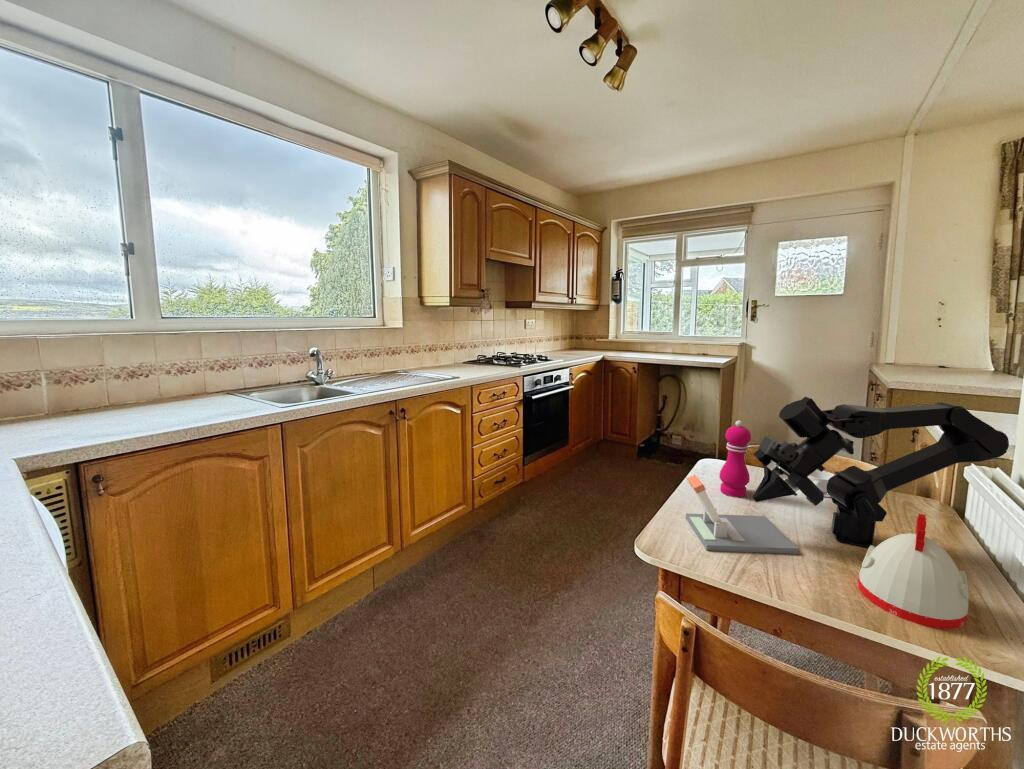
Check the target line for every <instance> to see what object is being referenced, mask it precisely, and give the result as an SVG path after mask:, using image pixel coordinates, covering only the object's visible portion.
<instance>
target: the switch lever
mask: <svg viewBox="0 0 1024 769" xmlns="http://www.w3.org/2000/svg"><path fill="white" fill-rule="evenodd" d="M686 481H687V483H688V484H689V485H690V487H691V488H692V489H693V491H694V492H695V494H696V496H697V498H698V500H699V502H700V504H701V505H702V508H703V510H704V509H705V511H706V513H707V515H708V516H709V517H710V519H711V520H712V521H713V523H714V524H715V522H722V521H721V519H720V517H719V516H718V515H719V514H718V512H717V509H716V508H715V507H714V505H713V503H712V501H711V499H710V498H709V496H708V494H707V491H706V487H705V485H704V483H703V482H702V481H701V480H700V479H699V478H698V476H697V475H696V474H693V475H691V476H690V477H686ZM715 509H716V510H715Z"/></svg>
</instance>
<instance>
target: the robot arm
mask: <svg viewBox="0 0 1024 769" xmlns="http://www.w3.org/2000/svg"><path fill="white" fill-rule="evenodd" d="M778 417H779V418H780V419H781V421H783V423H784V424H786V426H787V427H788V428H789V429H790V430H791V431H792V432H793V433H794V434H795V435H796V436H797V437H799V438H805V439H803V440H802V441H801V442H800V443H799V444H798V443H796V442H791V443H789V442H787V441H783V442H780V441H778V440H775V439H774V438H770V437H769V436H766V435H765V436H764V437H763V438H762V440H761V442H760V443H759V446H758V447H757V448H758V449H757V450H756V451H755V452H754V453H753V454H752V456H754V457H755V459H756V460H757V461H759V463H761V465H762V468H763V477H762V479H761V481H760V483H759V484H758V486H757V488H756V489H755V491H754V493H753V494H752V496H751V499H753V501H755V503H759V502H765V501H767V500H773V499H778V498H782V497H784V498H785V497H789V496H795V497H797V496H798V493H796V492H798V491H799V490H800V492H801V493H802V494H803V495H804V496H805V499H806V500H807V501H808V502H809V503H811V504H813V505H814V506H815V507H817V506H818V505H819V504H820V503H822V502H823V501H824V497H825V496H824V493H823V492H822V491H821V490H820V489H819V488H818V487H817V486H816V485H815V484H814V483H813V482H812V481H811V480H810V479H809V478H808V476H809V475H810V474H812V473H813V472H814V471H815V470H819V471H821V472H822V471H825V470H826V468H825V466H823V465H825V464H826V463H827V462H828V461H829V460H830V459H831V458H833V457H834V456H835V455H836V454H838V453H839V452H840V451H843V452H845V453H846V454H849V455H851V456H852V455H854V443H855V442H854V441H853V440H852V439H849V438H847V437H845V438H844V436H843V435H842V434H845V435H848V436H850V437H853V438H855V439H865V438H869V437H873V436H877V435H878V436H879V435H880V434H882V433H883V432H885V431H887V430H895V429H897V430H898V429H910V428H924V427H936V426H938V427H939V430H941V431H942V434H941V436H940V437H939V439H938V440H937V442H935V443H933V444H931V445H928V446H926V447H922V448H920V449H918V450H916V451H913V452H911V453H908V454H906V455H904V456H901V457H899V458H896V459H893V460H891V461H890V462H887V463H884V464H881V465H880V466H877V467H875V468H872V469H869V470H863V469H862V468H861V467H860V468H859V467H858V466H856V465H852V466H848V467H846V468H845V469H843V470H840V471H834V476H832V477H831V478H830V479H829V480H828V484H827V488H826V489H827V493H828V494H829V495H830V496H831V497H830V498H831V501H832V503H833V505H834V504H835V505H836V506H837V507H836V511H834V512H833V514H832V520H831V528H830V529H831V532H832V534H833V535H834V539H835V540H836V541H837V542H840V543H843V544H850V545H854V546H858V547H859V546H860V547H864V548H868V549H869V547H870V546H871V545H872V546H874V547H875V548H876V546H875V543H874V536H875V529H876V523H877V522H883V521H884V519H885V517H886V516H887V515H888V512H887V511H886V510H885V509H884V507H882V505H880V503H881V502H882V500H883V499H884V497H885V496H886V495H887V493H888V492H889V491H891V490H894V489H896V488H899V487H901V486H904V485H907V484H909V483H912V482H914V481H916V480H919V479H921V478H923V477H927V476H928V475H931V474H934V473H935V472H938V471H941V470H943V469H947V468H948V467H951V466H953V465H956V464H959V463H960V464H961V463H980V462H981V463H983V462H986V461H990V460H994V459H995V460H996V459H997V458H1000V457H1003V456H1004V455H1005V454H1006V453H1007V451H1008V449H1009V447H1010V443H1009V437H1008V435H1007V434H1006V433H1005V432H1003V431H1001V430H997V429H995V427H992V426H991V425H990V424H988V423H986V422H984V421H983V420H981V419H980V418H978V417H976V416H975V415H973V414H972V413H971V412H970V411H969V410H968V409H966V408H965V407H963V406H961V405H957V404H954V403H953V404H952V403H951V402H950V403H949V402H943V401H942V402H941V401H939V402H936V403H927V404H918V405H916V404H914V405H905V406H904V405H903V406H902V405H901V406H891V407H888V406H887V407H872V406H864V405H857V404H856V405H855V404H843V403H842V404H839V405H836V406H835V407H834V408H832V409H823V410H822V409H821V408H820V407H818V405H817V403H816V402H815V401H814V400H813V398H811V397H809V396H804V397H803V398H802V399H799V400H795V401H792V402H790V403H787V404H785V405H784V407H782V408H781V410H780V411H779V415H778ZM828 426H830V427H832V428H833V429H830V428H829V427H828ZM841 433H842V434H841Z"/></svg>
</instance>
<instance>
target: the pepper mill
mask: <svg viewBox="0 0 1024 769" xmlns="http://www.w3.org/2000/svg"><path fill="white" fill-rule="evenodd" d="M743 425H744V423H743V421H742V420H737V421H735V424H734V425H733V426H730V427H728V428H727V429H726V431H725V439H726V441H727V443H726V449H727V457H726V460H725V463H724V464H723V465H722V467H721V469H720V472H719V474H718V475H719V479H720V480H721V483H720V488H719V490H720V492H721V493H722V494H723V495H725V496H729V497H733V498H743V497H745V496H746V495H747V488H748V487H746V486H747V485H748V484H749V483H750V473H749V469H748V468H747V465H746V460H745V457H746V456H745V455H746V452H748V450H749V449H748V447H749V445H748V444H749V443H750V442H751V440H752V435H751V434H752V433H751V431H750V430H749V429H748V428H746V427H745V426H743Z"/></svg>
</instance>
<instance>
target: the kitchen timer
mask: <svg viewBox="0 0 1024 769" xmlns="http://www.w3.org/2000/svg"><path fill="white" fill-rule="evenodd" d="M926 516H927V515H926V514H922V513H918V515H917V518H916V524H915V525H916V526H915V530H914V533H909V532H908V533H900V534H897V535H894V536H891V537H889V538H887V539H885V540H883V541H882V542H880V543H879V544H877V546H875V547H874V546H872V545H871V546H870V547H869V548H868V549H867V551H866V554H865V555H864V558H863V561H862V563H861V568H860V569H859V573H858V577H857V578H858V579H857V588H858V590H859V592H860V593H861V594H862V595H863V596H864V597H865V598H866V599H867V600H868V601H869V602H870V603H872V604H873V605H875V606H877V607H878V608H880V609H881V610H883V611H884V612H886V613H889V614H891V615H893V616H896V617H898V618H900V619H903V620H905V621H909V622H910V621H911V622H910V623H913V622H914V624H917V625H920V626H925V627H929V628H934V629H945V630H950V629H958V628H961V627H962V626H964V625H965V624H966V622H967V621H966V620H967V618H968V617H967V616H968V612H969V595H970V594H969V585H968V583H969V582H968V578H967V574H966V572H965V571H964V569H963V570H959V568H958V566H957V564H956V563H955V561H954V560H953V558H952V557H951V556H950V554H949V553H947V551H946V550H945V549H944V548H943V547H942V546H940V545H939V544H938V543H937V542H936V541H934V540H932V539H931V538H929V537H927V536H926V529H927V528H926V527H927V517H926Z"/></svg>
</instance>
